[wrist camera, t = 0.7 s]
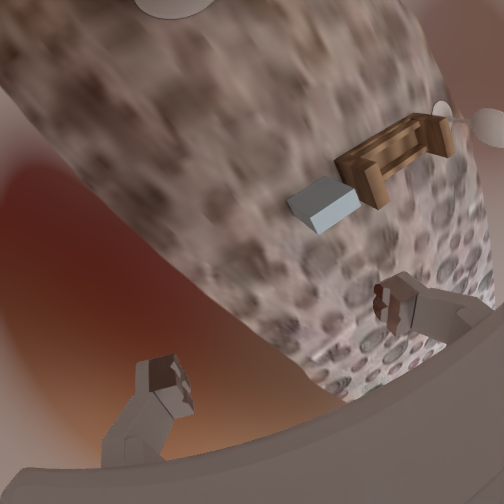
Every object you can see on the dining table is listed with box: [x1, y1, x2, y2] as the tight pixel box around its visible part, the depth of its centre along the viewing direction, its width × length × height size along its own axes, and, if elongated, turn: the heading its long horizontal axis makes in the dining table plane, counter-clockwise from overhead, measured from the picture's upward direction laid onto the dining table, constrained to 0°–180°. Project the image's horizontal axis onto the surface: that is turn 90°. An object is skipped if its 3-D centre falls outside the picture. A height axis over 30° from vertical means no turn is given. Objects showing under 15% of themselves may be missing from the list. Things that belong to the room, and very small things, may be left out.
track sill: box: [334, 113, 455, 210], centre depth 50 cm, size 24×8×10 cm, turn 121°
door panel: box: [287, 176, 361, 235], centre depth 51 cm, size 9×4×10 cm, turn 121°
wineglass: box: [432, 101, 504, 148], centre depth 46 cm, size 9×9×21 cm
